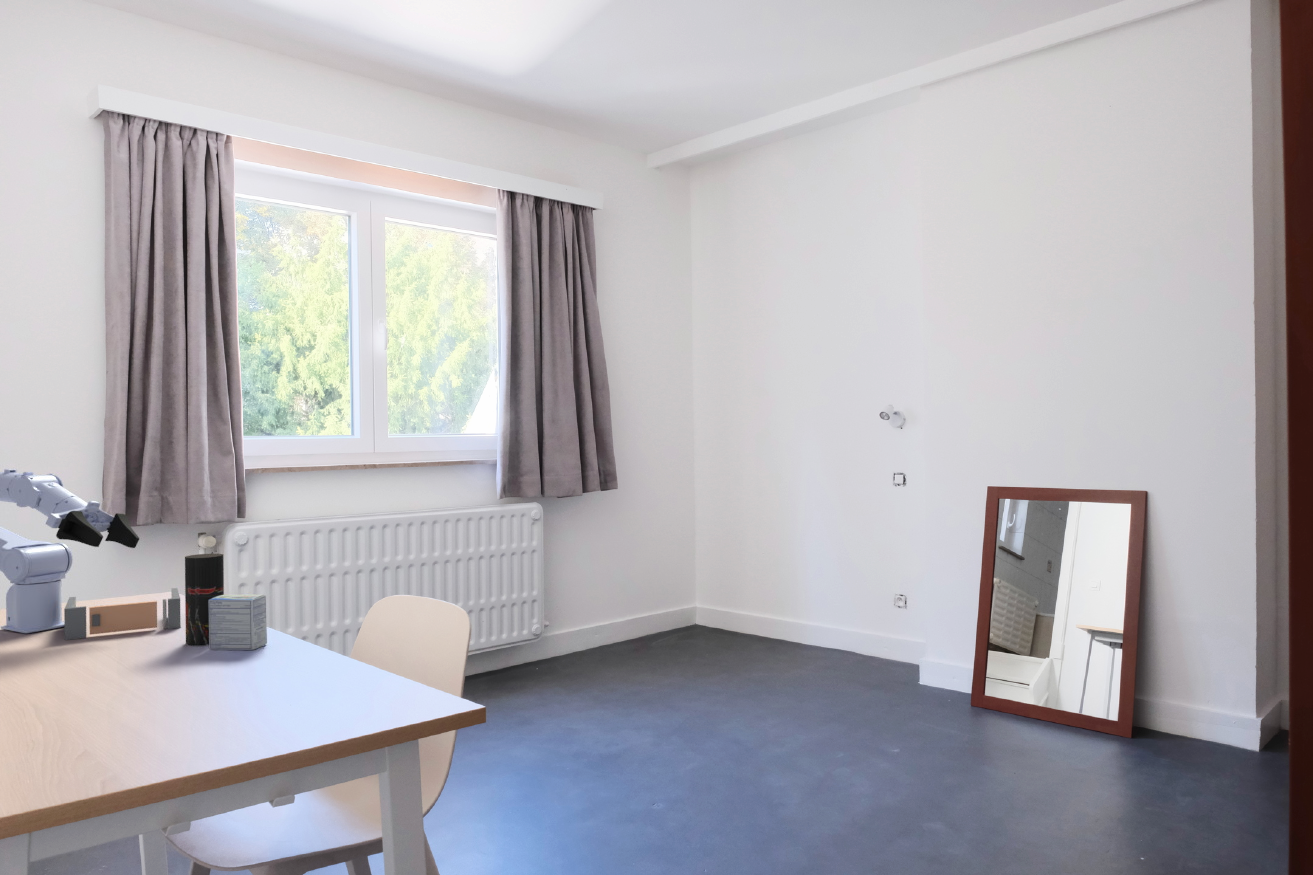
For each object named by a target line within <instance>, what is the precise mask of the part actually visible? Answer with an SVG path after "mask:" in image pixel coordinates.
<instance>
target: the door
mask: <svg viewBox="0 0 1313 875" xmlns="http://www.w3.org/2000/svg"><path fill="white" fill-rule="evenodd" d="M88 610H89V620H88V621H89V635H98V634H99V635H100V634H107V633H109V634H110V633H117V632H118V633H119V632H130V631H137V630H145V629H155V628H157V629H158V601H157V600H151V601H141V602H131V603H130V602H129V603H119V604H118V603H117V604H107V605H96V606H89V608H88Z"/></svg>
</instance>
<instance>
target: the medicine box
mask: <svg viewBox="0 0 1313 875" xmlns="http://www.w3.org/2000/svg"><path fill="white" fill-rule="evenodd" d="M267 624H268V623H267V595H266V594H249V593H247V594H243V593H242V594H238V593H237V594H224V595H220V596H217V597H214V598H212V599H209V645H208V647H209V650H210V651H212V650H213V651H215V650H216V651H218V650H220V651H223V650H224V651H226V650H227V651H228V650H229V651H235V650H237V651H238V650H239V651H244V650H245V651H254V650H257V649H259V648H261V647H263V646H266V645H267V644H268V632H267V631H268V627H267Z"/></svg>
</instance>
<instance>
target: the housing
mask: <svg viewBox="0 0 1313 875" xmlns="http://www.w3.org/2000/svg"><path fill="white" fill-rule="evenodd" d="M170 589H171V598H167V599H166V598H164V599H162V629H163V630H167V629H168V630H171V629H180V628H181V596H180V593H179V590H178V587H175V588H174V587H173V588H170ZM63 612H64V613H63V614H64V615H63V616H64V624H65V627H64V641H67V640H76V639H77V640H78V639H80V640H81V639H87V638H88V636H87V635H88V634H87V606H86V605H85V606H84V605H83V606H77V597H76V596H73V597H72V596H69V598H68V600H67V602H66V604H65V606H64V610H63Z"/></svg>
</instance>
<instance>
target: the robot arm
mask: <svg viewBox="0 0 1313 875" xmlns="http://www.w3.org/2000/svg"><path fill="white" fill-rule="evenodd" d="M0 502H4V503H6V502H8V503H14V504H16V506H17V507H19V508H27V507H30V508H31V509H35V510H36V511H37V512H40V513H41V514H42V515H44V516H46V518H47V519H46V521H45V525H47V527H50V528H51V529H58V530H57V532H56V534H55V536H56V538H57V539H58V540H63V541H64V540H65V541H66V540H67V541H73V542H79V543H81V544H84V545H88V546H91V547H93V548H99V547H100V545H101V543H102V540H103V539H104V535H103V534H102V533H103V532H106V531H107V536H106V538H105V540H104V541H105V542H114V543H118V544H119V545H123V546H125V547H127V548H131V549H135V548H137V545H138V542H139V541H140V537H139V536H138V534H137V533H136V532H135V530H134V529H133V528H132V526H131V524H130V521H129V516H128V515H126V514H125V513H119V512H118V513H115V514H114V515H111V514H110V513H107V512H106V511H105V510H102V509H101V508H100V506H101V503H100V502H98V501H95V500H90V501H88V502H87V501H85V500H84V499H82V498H80V497H79V496H78V495H76V494H75V493H72V492H71V491H69V490H68V489H67V488H65V487H64V484H63V482H62V480H61V478H60V477H59V476H58V475H56V474H53V473H47V474H40V475H39V474H38V475H37V474H34V472H33V471H23V473H21V472H18V470H17V469H15V468H6V469H4V470H3V471H1V472H0ZM72 553H73V552H72V551H71V549H70V548H69V547H68V545H66V544H65V543H63V542H55V543H52V542H50V541H46V540H45V541H44V540H35V539H34V540H33V539H29V538H26V537H23V536H22V535H19V534H18V533H16V532H13V531H11V530H9V529H7V528H5V527H2V526H1V525H0V572H2V573H3V574H4V576H5V577H6V579H7V580H8V581H10V584H12V585H11V586H10V587H8V590H7V592H6V594H5V595H6V596H5V610H6V612H5V614H6V616H5V618H6V620H5V625H1V626H0V629H1V630H6V631H11V632H17V633H21V634H31V633H37V632H40V631H48V630H52V629H59V628H65V624H64V621H63V619H62V618H63V616H62V615H63V613H62V608H63V607H62V603H63V602H62V580H63V579H66V574H67V573H69V571H70V570H71V568H72V565H73V560H74V559H73V554H72Z"/></svg>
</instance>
